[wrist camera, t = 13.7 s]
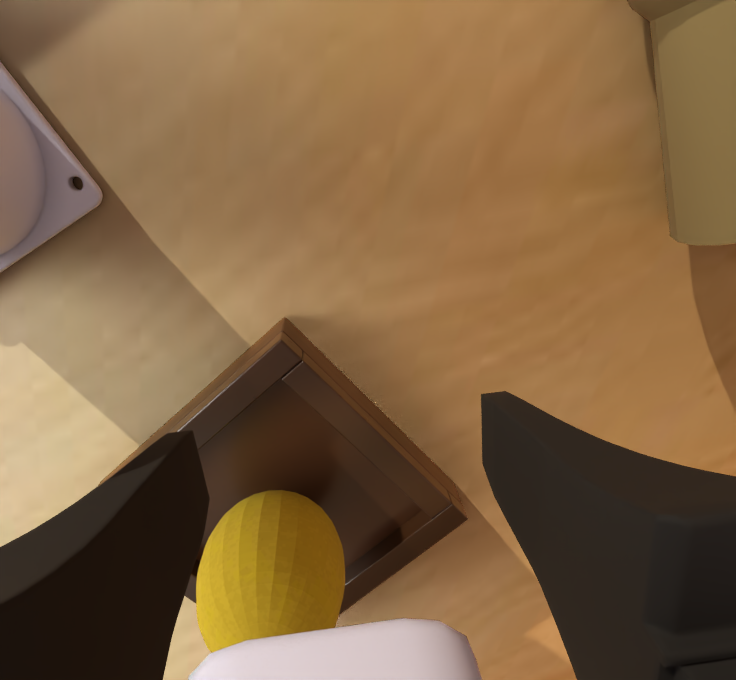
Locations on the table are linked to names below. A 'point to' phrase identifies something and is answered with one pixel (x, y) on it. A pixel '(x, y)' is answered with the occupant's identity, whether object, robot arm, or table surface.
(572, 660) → the robot arm
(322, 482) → the tray
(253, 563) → the lemon
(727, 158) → the cork
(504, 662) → the table surface
